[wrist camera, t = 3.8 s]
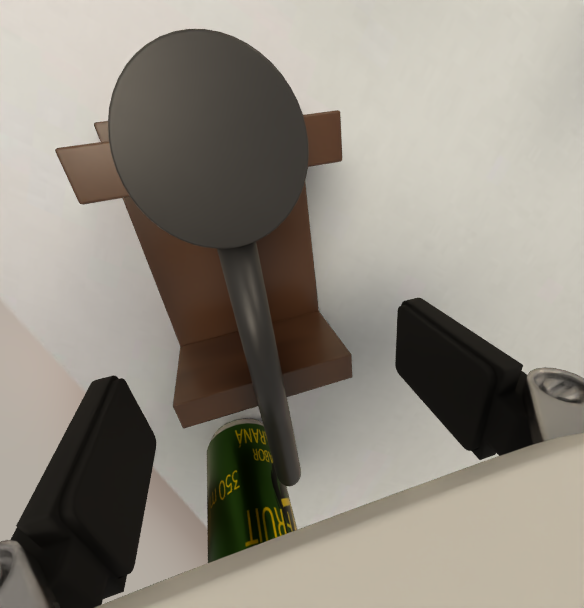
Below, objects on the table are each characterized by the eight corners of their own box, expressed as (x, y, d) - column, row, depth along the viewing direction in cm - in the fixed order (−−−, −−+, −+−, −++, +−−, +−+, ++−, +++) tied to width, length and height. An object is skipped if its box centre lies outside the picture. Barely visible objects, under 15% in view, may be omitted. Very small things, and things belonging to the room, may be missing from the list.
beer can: (254, 466, 26) (287, 672, 16) (195, 458, 24) (188, 693, 13) (284, 422, 24) (343, 617, 14) (224, 409, 22) (242, 630, 12)
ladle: (245, 483, 17) (249, 519, 15) (95, 64, 8) (64, 37, 6) (327, 454, 18) (340, 485, 16) (279, 46, 9) (297, 19, 7)
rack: (203, 397, 21) (204, 474, 16) (99, 125, 13) (31, 103, 8) (320, 363, 23) (355, 424, 18) (291, 100, 15) (339, 69, 9)
